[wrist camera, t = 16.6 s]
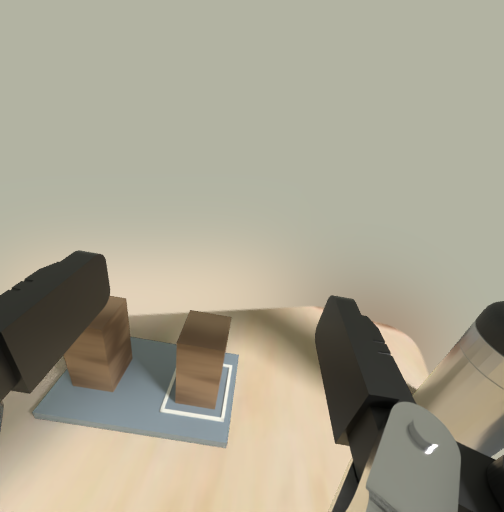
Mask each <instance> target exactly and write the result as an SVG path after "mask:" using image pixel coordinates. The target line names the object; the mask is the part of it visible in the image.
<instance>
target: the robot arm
mask: <svg viewBox="0 0 504 512" xmlns="http://www.w3.org/2000/svg"><path fill="white" fill-rule="evenodd" d="M109 296H110V286H109V279H108V272H107V265H106V259H105V257H104V256H103V255H101V254H96V253H90V252H85V251H75V252H74V253H72V254H71V255H69V256H68V257H66V258H65V259H63V260H62V261H61V262H57V263H54V264H52V265H49V266H46V267H44V268H41V269H39V270H37V271H36V272H34V273H33V274H32V275H30V276H28V277H27V278H25V280H24V281H21V282H20V283H18V284H17V285H15V286H14V287H12V289H11V290H8V291H6V292H5V293H3V294H2V295H0V430H1V423H2V416H3V408H4V405H3V402H2V399H3V398H4V397H5V396H6V395H7V394H8V393H9V392H10V391H17V392H24V393H31V392H32V391H33V390H34V388H35V387H36V386H37V385H38V384H39V383H40V381H41V380H42V379H43V378H44V377H45V376H46V374H47V373H48V372H49V371H50V370H51V369H52V368H53V366H54V365H55V364H56V363H57V362H58V361H59V359H60V358H61V357H62V356H63V355H64V354H65V352H66V351H67V350H68V349H69V348H70V347H71V345H72V344H73V343H74V342H75V341H76V340H77V339H78V337H79V336H80V335H81V334H82V333H83V332H84V330H85V329H86V328H87V327H88V326H89V325H90V323H91V322H92V321H93V320H94V319H95V318H96V316H97V315H98V314H99V313H100V312H101V311H102V309H103V308H104V307H105V306H106V304H107V302H108V300H109ZM315 344H316V349H317V354H318V359H319V364H320V369H321V374H322V379H323V384H324V389H325V394H326V399H327V405H328V410H329V415H330V420H331V425H332V430H333V435H334V440H335V444H341V445H347V446H350V450H351V454H352V459H351V460H350V462H349V464H348V466H347V468H346V471H345V473H344V475H343V478H342V480H341V482H340V485H339V487H338V489H337V492H336V494H335V496H334V499H333V501H332V503H331V506H330V508H329V510H328V512H504V455H503V456H501V457H500V458H498V459H497V460H495V459H493V458H491V457H492V456H493V455H495V454H496V453H498V452H499V451H500V450H502V449H503V448H504V301H502V302H496V303H493V304H491V305H489V306H488V307H487V308H486V309H485V310H483V312H482V313H481V314H480V315H479V316H478V318H477V319H476V321H475V322H474V323H473V324H472V325H471V326H470V328H469V329H468V330H467V331H466V332H465V334H464V335H463V336H462V337H461V339H460V340H459V341H458V342H457V343H456V344H455V346H454V347H453V348H452V349H451V350H450V352H449V353H448V354H447V355H446V356H445V358H444V359H443V360H442V361H441V362H440V363H439V365H438V366H437V367H436V368H435V369H434V371H433V372H432V373H431V374H430V375H429V376H428V378H427V379H426V380H425V381H424V382H423V384H422V385H421V386H420V387H419V388H418V389H417V391H416V392H415V393H414V394H413V395H412V394H411V392H410V390H409V388H408V386H407V384H406V382H405V380H404V378H403V376H402V374H401V372H400V370H399V368H398V366H397V364H396V362H395V361H394V359H393V357H392V356H391V355H390V351H389V349H388V347H387V345H386V344H385V341H384V339H383V337H382V335H381V333H380V331H379V329H378V328H377V326H376V325H375V324H374V323H373V322H372V321H371V320H370V319H369V318H368V317H367V316H363V315H361V313H360V311H359V309H358V307H357V304H356V302H355V301H354V300H353V299H349V298H344V297H338V296H330V297H329V299H328V301H327V303H326V305H325V308H324V310H323V313H322V315H321V318H320V320H319V322H318V325H317V328H316V333H315Z"/></svg>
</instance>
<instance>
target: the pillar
mask: <svg viewBox="0 0 504 512" xmlns="http://www.w3.org/2000/svg"><path fill="white" fill-rule="evenodd" d="M230 322H231V317H227V316H221V315H215V314H210V313H204V312H198V311H192V310H190V312H189V315H188V317H187V320H186V322H185V324H184V327H183V329H182V332H181V334H180V336H179V339H178V341H177V352H176V394H175V403H178V404H184V405H190V406H196V407H202V408H208V409H214V410H215V406H216V401H217V396H218V391H219V385H220V380H221V375H222V369H223V363H224V357H225V352H226V346H227V340H228V334H229V328H230Z"/></svg>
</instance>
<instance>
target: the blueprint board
mask: <svg viewBox="0 0 504 512" xmlns="http://www.w3.org/2000/svg"><path fill="white" fill-rule="evenodd" d="M130 339H131V348H132V357H133V358H132V360H131V362H130V364H129V366H128V367H127V369H126V371H125V373H124V374H123V376H122V378H121V380H120V381H119V383H118V385H117V387H116V389H115V390H114V392H108V391H102V390H95V389H89V388H83V387H77V386H73V384H72V381H71V378H70V375H69V372H68V369H66V371H65V372H64V373H63V374H62V376H61V377H60V378H59V379H58V381H57V382H56V383H55V384H54V386H53V387H52V388H51V389H50V391H49V392H48V393H47V394H46V396H45V397H44V398H43V399H42V401H41V402H40V403H39V404H38V406H37V407H36V408H35V409H34V411H33V412H32V413H33V415H34V417H35V418H37V419H43V420H50V421H56V422H63V423H69V424H75V425H82V426H88V427H95V428H101V429H107V430H114V431H120V432H126V433H133V434H139V435H146V436H152V437H158V438H165V439H171V440H178V441H184V442H190V443H197V444H203V445H209V446H216V447H222V448H226V446H227V440H228V433H229V425H230V418H231V410H232V402H233V395H234V387H235V380H236V372H237V364H238V357H239V355H236V354H230V353H225V357H224V363H223V369H222V375H221V380H220V385H219V391H218V396H217V401H216V406H215V410H214V409H208V408H202V407H196V406H190V405H184V404H178V403H175V394H176V352H177V345H176V344H170V343H164V342H158V341H152V340H146V339H140V338H134V337H130Z"/></svg>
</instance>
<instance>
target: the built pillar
mask: <svg viewBox="0 0 504 512" xmlns="http://www.w3.org/2000/svg"><path fill="white" fill-rule="evenodd" d="M63 356H64V359H65V362H66V366H67V369H68V372H69V375H70V378H71V381H72V384H73V386H77V387H83V388H89V389H95V390H102V391H108V392H114V390H115V389H116V387H117V385H118V383H119V381H120V380H121V378H122V376H123V374H124V373H125V371H126V369H127V367H128V366H129V364H130V362H131V360H132V358H133V357H132V348H131V339H130V330H129V321H128V312H127V303H126V299H125V298H120V297H114V296H109V300H108V302H107V304H106V306H105V307H104V308H103V309H102V311H101V312H100V313H99V314H98V315H97V316H96V318H95V319H94V320H93V321H92V322H91V323H90V325H89V326H88V327H87V328H86V329H85V330H84V332H83V333H82V334H81V335H80V336H79V337H78V339H77V340H76V341H75V342H74V343H73V344H72V345H71V347H70V348H69V349H68V350H67V351H66V352H65V354H64V355H63Z"/></svg>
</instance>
